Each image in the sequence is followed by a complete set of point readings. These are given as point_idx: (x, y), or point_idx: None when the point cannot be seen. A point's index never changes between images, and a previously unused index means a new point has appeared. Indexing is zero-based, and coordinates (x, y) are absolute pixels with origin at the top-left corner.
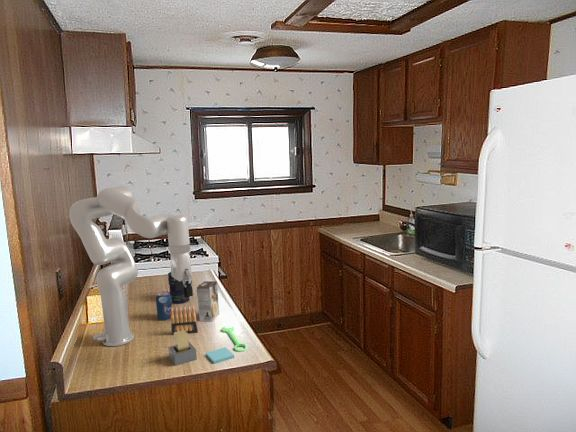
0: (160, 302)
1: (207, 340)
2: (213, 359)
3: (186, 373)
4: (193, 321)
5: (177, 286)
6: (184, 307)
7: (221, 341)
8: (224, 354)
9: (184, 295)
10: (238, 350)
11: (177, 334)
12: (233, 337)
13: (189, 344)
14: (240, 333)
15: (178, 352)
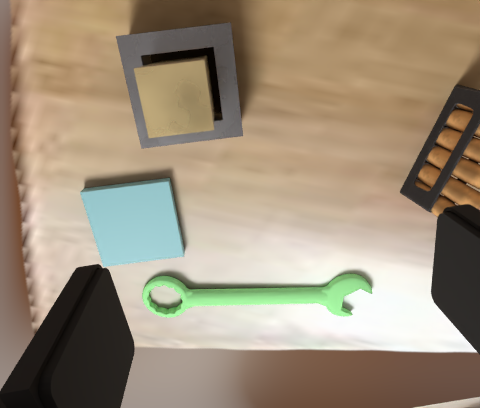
0: None
1: (302, 211)
2: (95, 194)
3: (35, 68)
4: (436, 202)
5: (476, 266)
6: None
7: (262, 253)
8: (122, 239)
9: (70, 281)
10: (146, 286)
11: (160, 77)
12: (252, 297)
13: (208, 131)
14: (290, 321)
15: (139, 62)
